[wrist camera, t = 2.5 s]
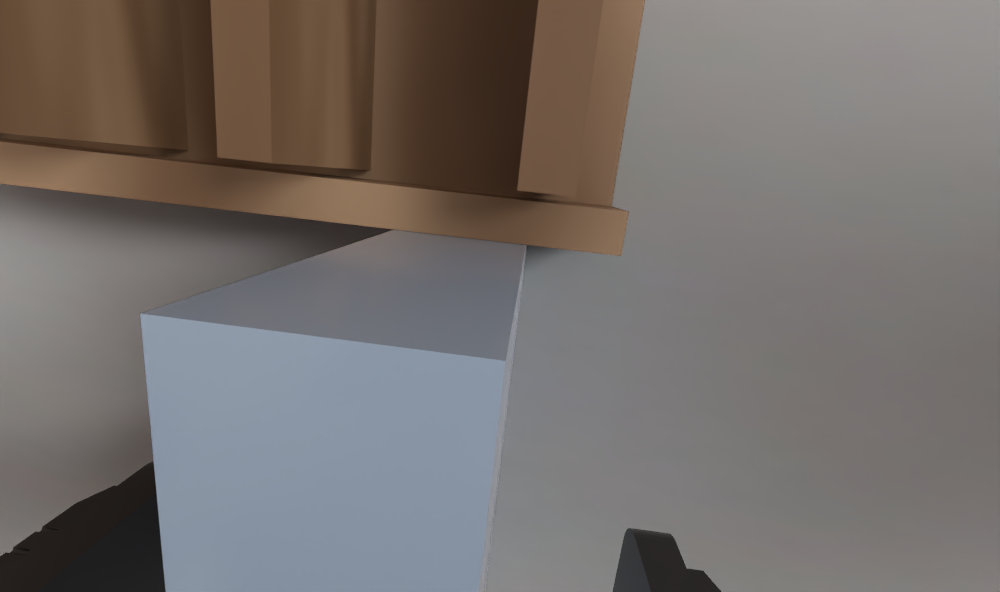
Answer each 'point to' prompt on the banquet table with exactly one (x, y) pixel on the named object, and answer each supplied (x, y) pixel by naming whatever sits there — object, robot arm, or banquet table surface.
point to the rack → (331, 110)
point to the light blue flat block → (336, 419)
